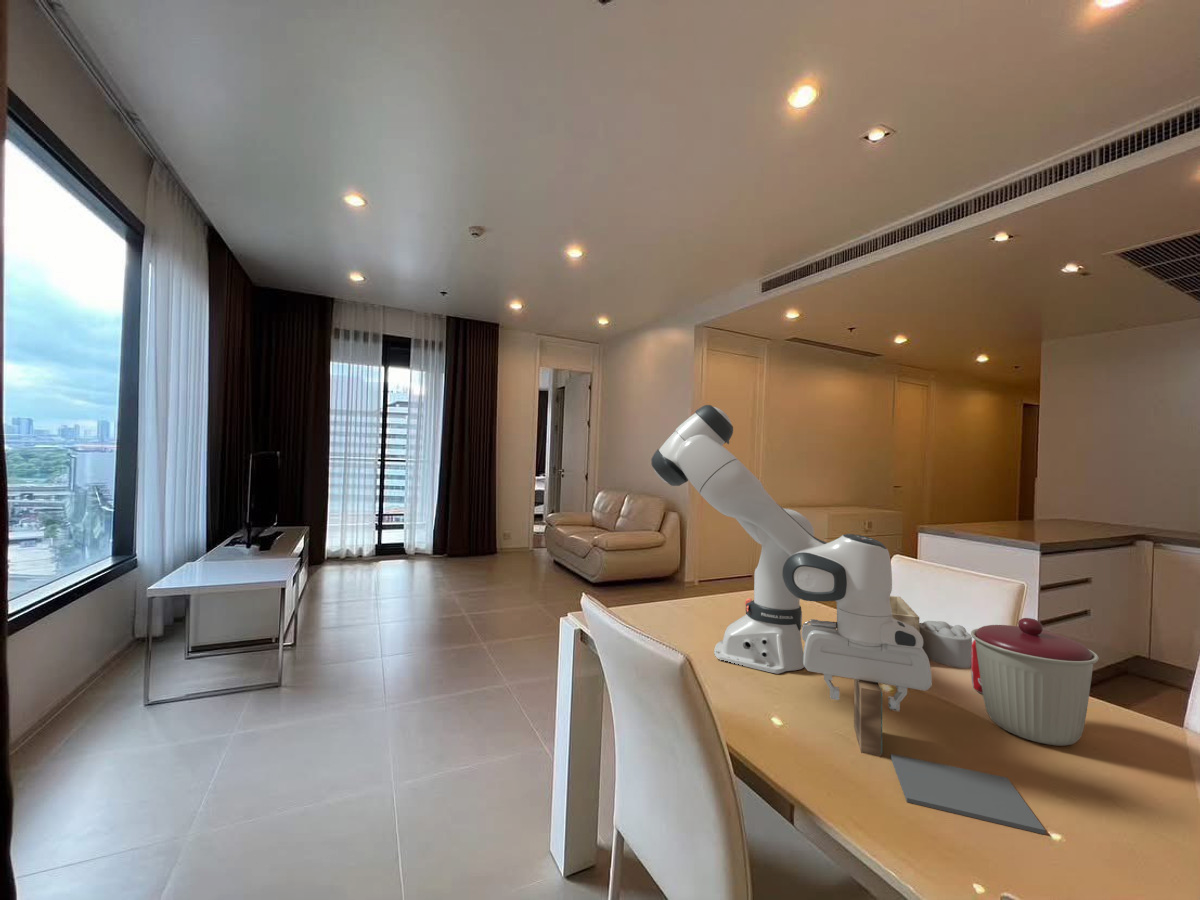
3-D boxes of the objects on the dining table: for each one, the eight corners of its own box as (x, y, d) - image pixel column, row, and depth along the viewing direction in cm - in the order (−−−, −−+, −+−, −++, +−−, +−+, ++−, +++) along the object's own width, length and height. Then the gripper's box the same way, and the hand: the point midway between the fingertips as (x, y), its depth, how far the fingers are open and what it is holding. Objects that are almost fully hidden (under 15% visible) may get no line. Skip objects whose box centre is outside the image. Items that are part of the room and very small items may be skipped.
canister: (1068, 769, 79) (1066, 640, 80) (951, 716, 96) (950, 609, 97) (1120, 746, 86) (1118, 628, 87) (1003, 701, 103) (1002, 602, 104)
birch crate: (866, 657, 126) (866, 611, 126) (854, 631, 146) (855, 592, 147) (919, 665, 122) (919, 617, 122) (900, 637, 142) (900, 596, 143)
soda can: (1020, 703, 102) (1019, 646, 103) (982, 699, 104) (982, 643, 104) (1000, 688, 109) (999, 635, 110) (964, 685, 111) (964, 632, 111)
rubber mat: (906, 802, 70) (906, 797, 70) (890, 757, 81) (890, 753, 81) (1045, 834, 64) (1045, 830, 64) (1007, 781, 76) (1007, 777, 76)
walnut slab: (861, 752, 83) (861, 687, 83) (854, 727, 91) (854, 668, 91) (882, 757, 81) (882, 691, 82) (873, 730, 90) (873, 671, 90)
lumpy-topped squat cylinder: (949, 649, 133) (949, 618, 134) (984, 669, 120) (984, 634, 121) (911, 648, 134) (911, 616, 134) (942, 667, 121) (941, 632, 121)
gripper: (801, 622, 88) (801, 699, 87) (934, 640, 80) (934, 724, 80) (801, 613, 94) (801, 685, 93) (925, 629, 86) (925, 707, 85)
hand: (863, 703), depth 86 cm, fingers open, 8 cm apart
